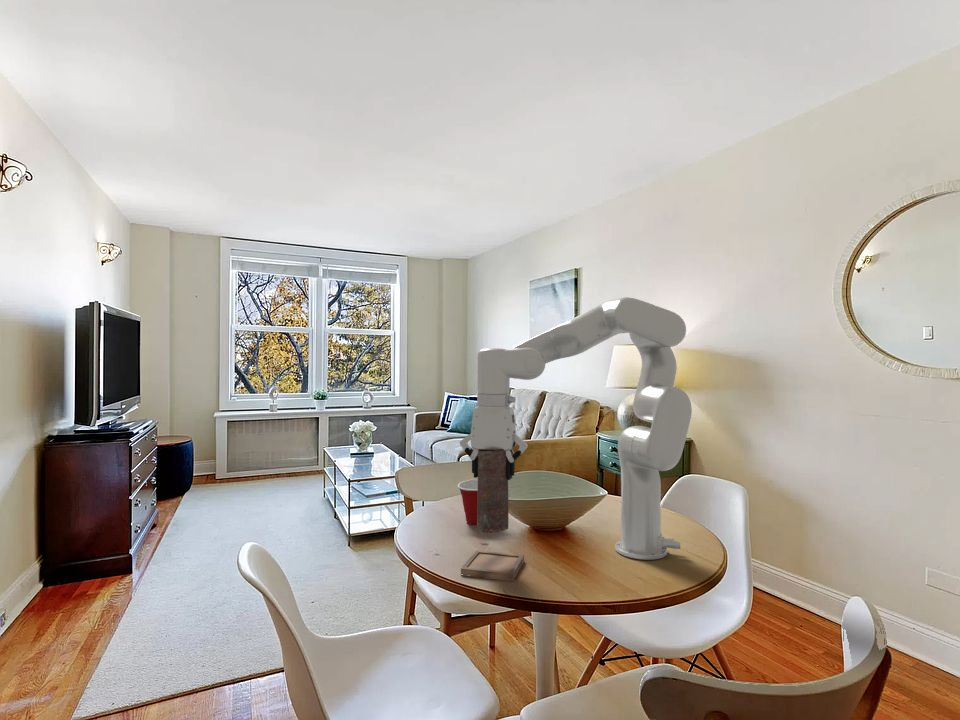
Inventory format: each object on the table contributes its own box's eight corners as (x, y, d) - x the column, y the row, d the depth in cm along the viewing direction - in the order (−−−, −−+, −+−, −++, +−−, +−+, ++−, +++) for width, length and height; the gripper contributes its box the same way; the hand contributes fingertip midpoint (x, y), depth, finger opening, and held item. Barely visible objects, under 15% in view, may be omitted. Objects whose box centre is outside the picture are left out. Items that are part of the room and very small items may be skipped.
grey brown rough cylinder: (510, 536, 121) (510, 448, 121) (478, 537, 120) (477, 448, 120) (506, 526, 128) (506, 443, 128) (476, 527, 128) (475, 443, 128)
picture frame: (523, 561, 128) (523, 555, 128) (512, 581, 117) (512, 574, 117) (476, 556, 132) (476, 550, 132) (460, 575, 120) (460, 568, 120)
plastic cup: (450, 522, 159) (450, 482, 159) (477, 515, 166) (477, 477, 167) (474, 531, 151) (474, 488, 151) (501, 523, 158) (501, 483, 158)
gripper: (533, 401, 125) (532, 476, 125) (462, 399, 130) (462, 472, 130) (526, 403, 118) (526, 483, 118) (452, 401, 123) (452, 478, 123)
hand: (493, 477), depth 124 cm, fingers closed on grey brown rough cylinder, 7 cm apart
